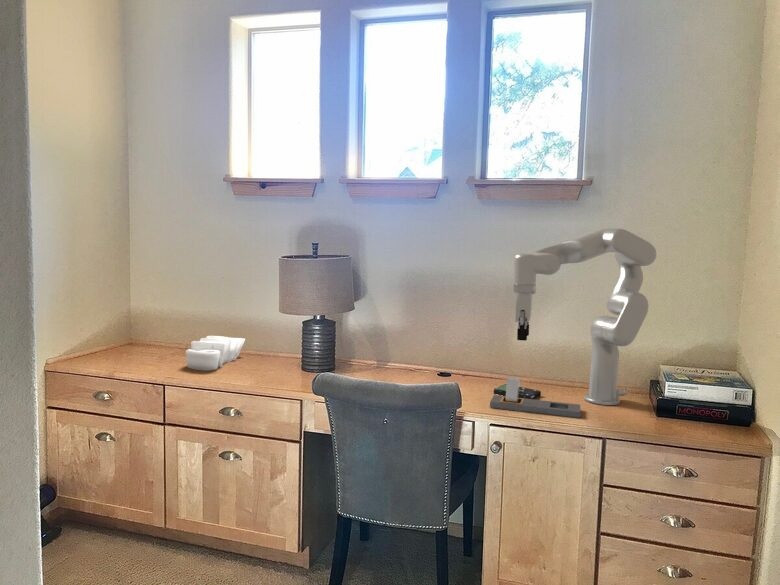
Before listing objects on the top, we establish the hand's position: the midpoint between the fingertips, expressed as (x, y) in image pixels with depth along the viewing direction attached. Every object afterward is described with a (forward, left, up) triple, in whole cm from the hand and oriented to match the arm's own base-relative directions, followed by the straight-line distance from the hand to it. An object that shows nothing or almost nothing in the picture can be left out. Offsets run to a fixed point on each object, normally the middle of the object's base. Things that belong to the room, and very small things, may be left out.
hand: (523, 337), depth 216 cm
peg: (+3, +1, -24) cm, 24 cm away
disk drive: (-7, -13, -25) cm, 29 cm away
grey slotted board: (-3, +5, -24) cm, 25 cm away
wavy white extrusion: (+99, -87, -25) cm, 134 cm away
